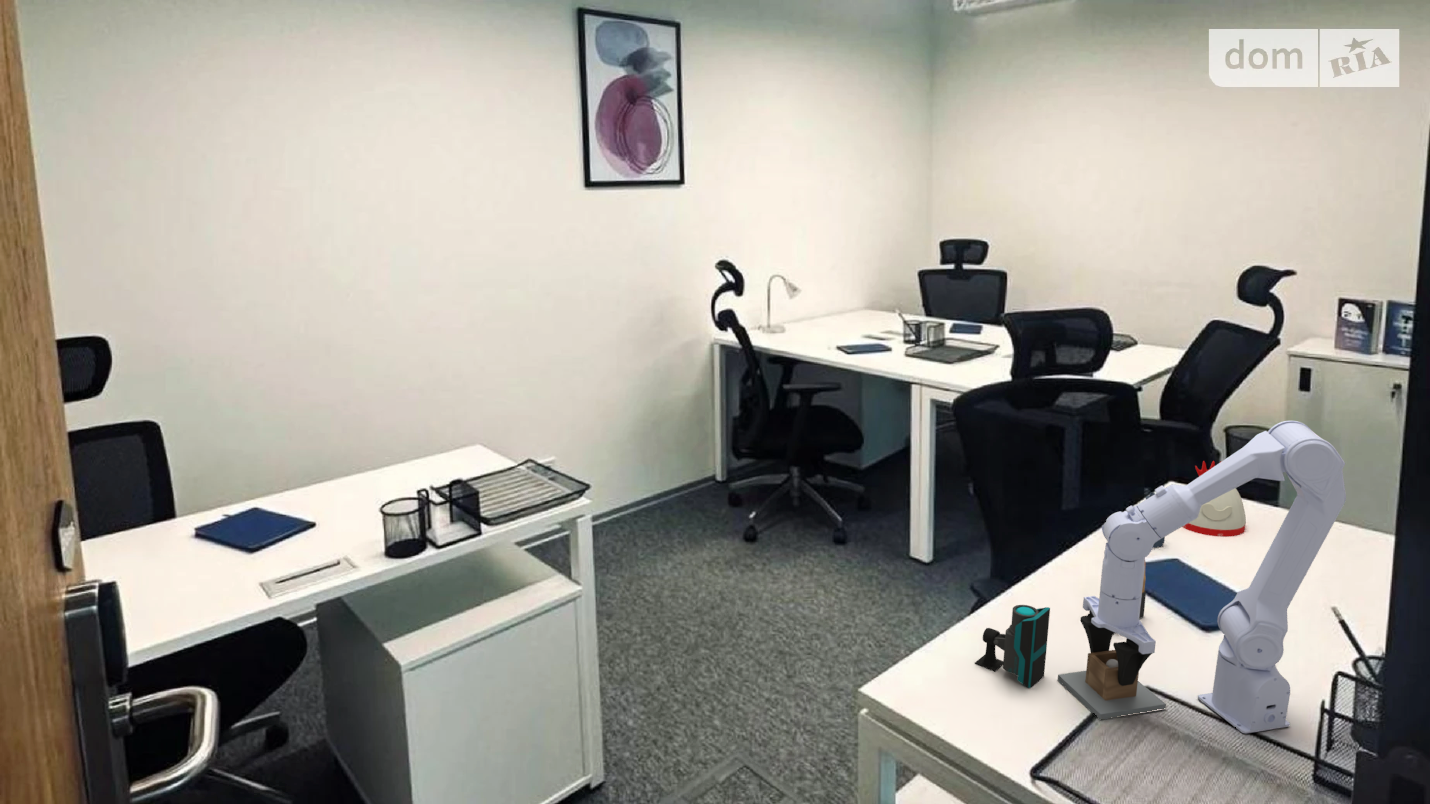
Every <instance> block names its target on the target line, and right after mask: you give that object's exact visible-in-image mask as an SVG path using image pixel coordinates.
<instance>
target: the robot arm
mask: <svg viewBox="0 0 1430 804" xmlns="http://www.w3.org/2000/svg"><path fill="white" fill-rule="evenodd" d="M1345 465H1346V463H1345V461H1344V459H1343V458H1342V456H1341V454H1340V453H1339V452H1338V450H1337V449H1336V448H1335V446H1334V445H1333V444H1331V443H1330V442H1329V441H1328V440H1326V439H1323V438H1322V437H1321V436H1319V435H1318V434H1316V432H1314V431H1313V430H1312V429H1311V428H1310V427H1309V426H1308V425H1307V424H1305V423H1304V422H1302V421H1297V420H1284V421H1280V422H1278V423H1276V424H1274V425H1273V426H1272V427H1271V428H1269V429H1268V431H1267V430H1264V431H1262V432H1260V433H1257V434H1256V435H1255V436H1254V437H1252V439H1251V440H1249V441H1248V443H1246V444H1245V445H1244V446H1242V448H1240V449H1238V450H1237V451H1235V452H1234V453H1231V455H1230V456H1228V457H1227V458H1224V459H1223V460H1222V461H1221V462H1219V463H1217V464H1215V466H1214V467H1213V468H1211V469H1210V468H1209V469H1210V470H1209V469H1207V470H1208V471H1207V472H1205V473H1204V474H1202V475H1201V476H1199V475H1198V477H1196V478H1195V479H1193V480H1192V481H1191V482H1189V483H1188V484H1185V485H1182V484H1174V483H1171V484H1169V485H1168V486H1166V487H1164V485H1159V486H1158V487H1157V488H1155V489H1154V493H1155V494H1154V495H1153V496H1151V497H1149V498H1148V499H1146V498H1145V500H1142V501H1141V502H1140V503H1138V504H1136V505H1135V506H1133V505H1130V506H1128V507H1126V508H1125V510H1124V511H1117V512H1114V513H1112V514H1111V515H1109V516H1108V517H1107V519H1106V520H1105V521H1106V522H1104V523H1103V524H1102V525H1101V532H1102V534H1103V537H1104V539H1105V540H1106V543H1105V549H1104V552H1103V553H1104V555H1103V559H1102V566H1101V575H1100V576H1101V577H1100V587H1099V598H1098V597H1097V596H1095V595H1090V596H1083V602H1082V609H1083V610H1085V611H1087V612H1089V613H1087V614H1086V615H1083V616H1081V617H1080V623H1081V626H1082V627H1083V629H1084V631H1085V634H1086V637H1087V640H1088V641H1087V642H1088V645H1089V651H1090V652H1089V653H1094V652H1102V651H1110V649H1111V648H1110V647H1111V641H1112V638H1113V635H1114V634H1113V633H1114V632H1115V634H1117V635H1119V636H1122V637H1124V638H1125V639H1126V641H1121V642H1120V641H1119V642H1114V643H1113V645H1112V646H1113V648H1114V650H1115V651H1116V654H1117V659H1118V682H1119V684H1120V685H1121V686H1125V685H1132V684H1133V683H1134V681H1135V679H1136V676H1137V674H1138V672H1140V670H1141V668H1142V667H1143V665H1144V663H1145V662H1146V661H1147V659H1148V658H1150V656H1151V655H1153V654H1154V653H1155V651H1156V641H1157V640H1155V639H1154V638H1153V637H1152V636H1151V635H1150V634H1149V632H1148V631H1147V629H1146V627H1145V626H1144V624H1143V623H1142V621H1141V619H1139V615H1140V606H1141V598H1142V588H1143V579H1144V570H1145V571H1146V567H1145V566H1144V562H1145V563H1146V558H1147V557H1148V556H1149V555H1150V554H1151V552H1152V550H1153V549H1154V548H1153V545H1154V543H1155V542H1157V541H1158V540H1160V539H1161V538H1164V537H1165V538H1166V537H1167V536H1169V535H1170V534H1172V533H1174V532H1176V531H1177V530H1179V529H1180V528H1183V526H1184V525H1186V524H1188V523H1189V522H1191V521H1193V520H1195V519H1196V518H1198V515H1199V511H1200V508H1201V506H1202V505H1203V504H1205V503H1207V502H1209V501H1211V500H1213V499H1215V498H1217V497H1219V496H1221V495H1223V494H1225V493H1227V492H1229V491H1231V490H1233V489H1235V488H1236V489H1237V488H1238V487H1240V486H1243V485H1245V484H1246V483H1248V482H1250V481H1252V480H1254V479H1263V480H1270V481H1271V480H1272V481H1277V482H1285V480H1286V479H1285V477H1284V474H1283V473H1285V474H1286V476H1287V478H1288V479H1289V481H1290V483H1291V484H1292V486H1293V488H1294V490H1295V491H1296V497H1295V498H1294V500H1293V503H1292V505H1291V506H1290V508H1289V510H1288V512H1287V513H1286V515H1285V518H1284V520H1283V521H1282V523H1281V525H1280V527H1279V529H1278V531H1277V533H1276V535H1275V537H1274V538H1273V540H1272V542H1271V544H1270V547H1269V548H1268V550H1267V552H1266V553H1265V556H1264V558H1263V560H1262V561H1261V564H1260V565H1259V567H1258V569H1257V572H1256V574H1255V575H1254V577H1253V578H1252V581H1251V582H1250V585H1249V586H1248V587H1247V588H1245V589H1242V590H1239V591H1237V593H1236V595H1235V597H1234V598H1233V600H1232V601H1231V602H1229V603H1228V604H1226V605H1225V606H1223V608H1222V609H1220V610H1219V612H1218V616H1217V626H1218V628H1219V630H1220V631H1221V633H1222V634H1223V638H1222V641H1221V642H1220V643H1219V645H1218V651H1217V660H1216V664H1215V665H1216V666H1215V672H1214V673H1215V674H1214V680H1213V687H1212V692H1209V693H1202V694H1198V695H1197V699H1198V700H1199V701H1201V702H1202V703H1203V704H1205V705H1206V706H1207V707H1208V708H1209V709H1211V710H1212V711H1213V712H1215V713H1216V714H1218V715H1219V716H1220V717H1221V718H1222V719H1224V720H1225V721H1226V722H1228V723H1229V724H1230V725H1232V726H1233V727H1234V728H1235V727H1236V729H1237V730H1238V731H1239V732H1241V733H1242V734H1252V733H1257V732H1264V731H1269V730H1275V729H1281V728H1287V727H1290V726H1291V725H1290V724H1291V723H1290V722H1289V721H1288V720H1287V715H1288V709H1289V708H1288V707H1289V702H1290V695H1291V686H1290V683H1289V681H1288V680H1287V679H1286V678H1285V677H1284V676H1283V675H1282V674H1281V673H1280V671H1279V670H1278V668H1277V666H1276V665H1277V664H1278V663H1279V662H1280V661H1281V659H1282V657H1283V655H1284V652H1285V651H1284V650H1285V649H1284V640H1285V637H1286V634H1287V633H1288V630H1289V622H1288V608H1289V606H1290V605H1291V603H1292V601H1293V599H1294V598H1295V595H1296V593H1297V592H1298V590H1299V588H1300V587H1301V585H1302V583H1303V581H1304V579H1305V577H1306V575H1307V573H1308V572H1309V570H1310V568H1311V566H1312V564H1313V562H1314V560H1315V559H1316V557H1317V555H1318V553H1319V552H1320V550H1321V548H1322V546H1323V544H1324V542H1325V541H1326V539H1327V537H1328V535H1329V533H1330V531H1331V529H1332V527H1333V525H1334V524H1335V522H1336V520H1337V518H1338V516H1339V514H1340V513H1341V511H1342V509H1343V507H1344V505H1345V503H1346V500H1347V494H1346V487H1345V486H1346V485H1345V479H1344V467H1345Z"/></svg>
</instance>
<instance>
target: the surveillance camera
mask: <svg viewBox="0 0 1430 804" xmlns="http://www.w3.org/2000/svg"><path fill="white" fill-rule="evenodd" d="M1011 611H1012V612H1011V624H1010V625H1009V627H1008V628H1006V630H1005V632H1004V633H1001V631H999V630H996V629H993V628H991V627H986V628H985V629H984V631H983V633H982V641H983V642H984V643H986V648H985V654H983V656H981V657H980V658H978V659H977V660H976V661H975V662H974V665H976V666H979V667H981V668H984V669H986V670H989V671H991V672H993V673H994V672H997V670H999V669H1000V668H1001V667H1002V668H1003V671H1005V672H1007V673H1010V674H1012V675H1015V676H1016V677H1017V682H1018V683H1020V684H1021V685H1023V686H1024V687H1026V688H1028V689H1031V688H1033V687H1034V686H1036V684H1039V683H1038V682H1040V681H1041V680H1042V679H1043V678H1044V677H1045V669H1046V658H1047V650H1048V649H1047V648H1048V646H1047V645H1048V639H1049V638H1048V634H1049V623H1050V616H1051V615H1050V614H1051V607H1047V606H1046V607H1040V608H1039V607H1038V608H1035V607H1034V606H1033V605H1027V604H1017V605H1015V606H1013V607H1012V610H1011ZM996 647H998V648H999V649H1001V650H1002V651H1003V660H1001V659H999V658H997V656H996V655H997V654H996Z"/></svg>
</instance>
